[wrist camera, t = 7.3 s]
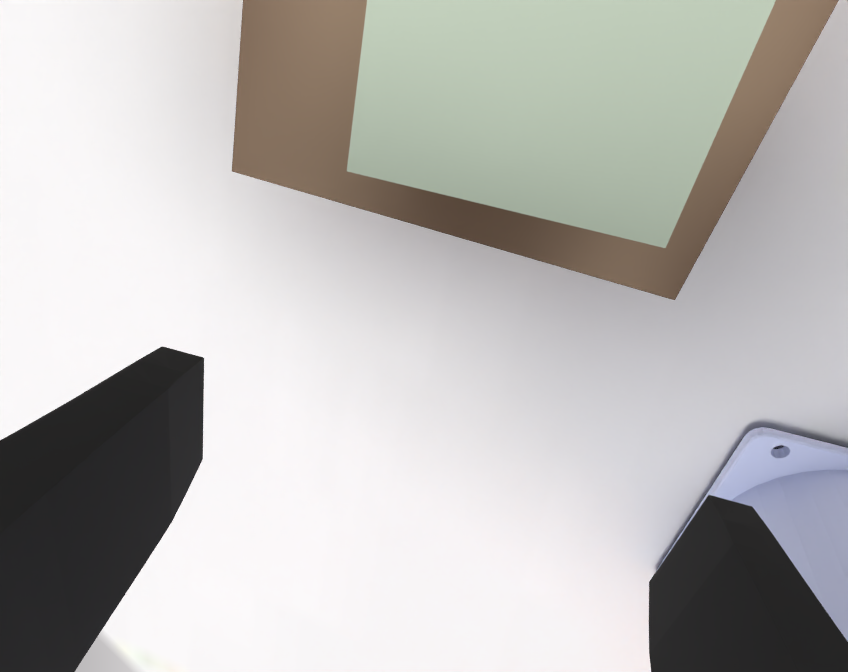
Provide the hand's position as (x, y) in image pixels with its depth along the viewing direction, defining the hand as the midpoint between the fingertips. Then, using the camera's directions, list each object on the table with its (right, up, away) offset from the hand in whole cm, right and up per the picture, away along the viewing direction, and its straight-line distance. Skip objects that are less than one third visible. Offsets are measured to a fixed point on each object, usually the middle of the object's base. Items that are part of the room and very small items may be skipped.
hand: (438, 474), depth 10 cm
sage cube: (+2, +8, +2) cm, 9 cm away
